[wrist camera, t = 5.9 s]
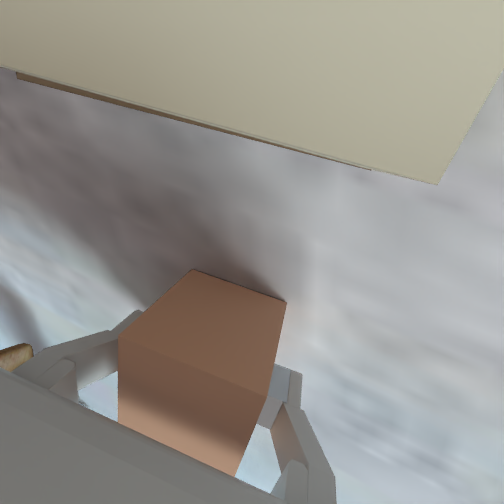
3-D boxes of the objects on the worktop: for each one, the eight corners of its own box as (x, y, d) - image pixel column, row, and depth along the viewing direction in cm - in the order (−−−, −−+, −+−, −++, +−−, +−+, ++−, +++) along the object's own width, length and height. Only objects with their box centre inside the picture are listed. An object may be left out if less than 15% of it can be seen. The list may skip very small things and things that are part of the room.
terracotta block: (192, 268, 12) (118, 335, 8) (286, 302, 11) (267, 396, 7) (181, 340, 14) (118, 426, 10) (261, 372, 14) (232, 480, 9)
